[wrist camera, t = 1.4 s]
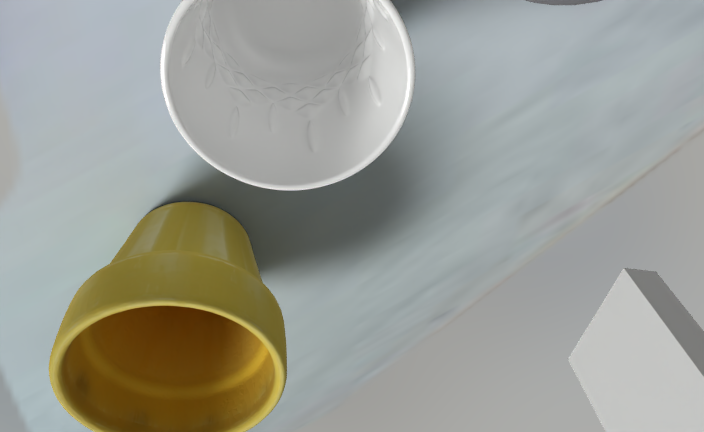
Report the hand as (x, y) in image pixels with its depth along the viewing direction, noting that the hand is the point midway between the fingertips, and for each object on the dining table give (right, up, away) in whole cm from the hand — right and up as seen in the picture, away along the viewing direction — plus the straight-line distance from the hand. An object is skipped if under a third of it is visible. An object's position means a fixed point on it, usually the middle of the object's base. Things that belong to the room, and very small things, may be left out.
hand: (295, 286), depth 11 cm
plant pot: (-8, 0, +23) cm, 24 cm away
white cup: (-2, +11, +15) cm, 19 cm away
